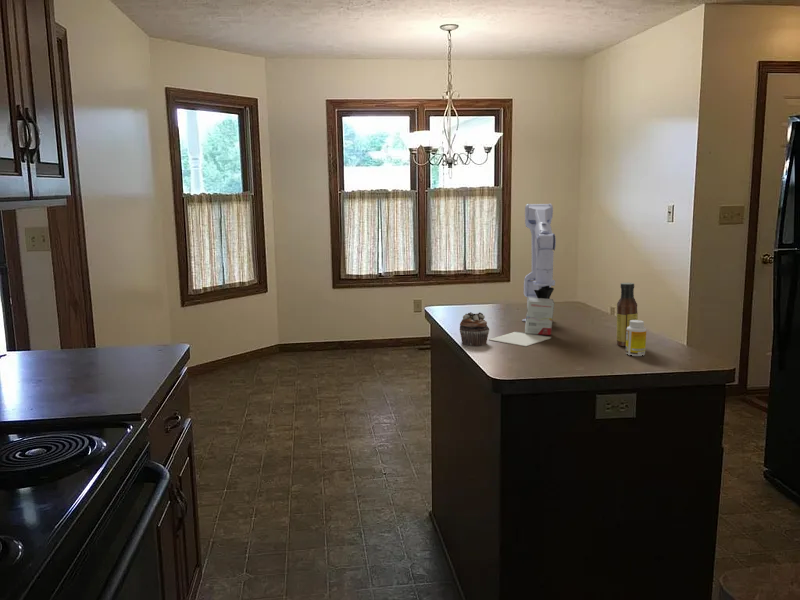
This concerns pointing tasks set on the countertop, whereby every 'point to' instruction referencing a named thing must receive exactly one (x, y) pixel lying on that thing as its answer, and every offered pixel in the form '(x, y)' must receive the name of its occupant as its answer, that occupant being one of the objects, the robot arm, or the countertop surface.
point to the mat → (520, 338)
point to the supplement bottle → (636, 338)
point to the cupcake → (474, 330)
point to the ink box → (539, 316)
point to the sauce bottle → (625, 311)
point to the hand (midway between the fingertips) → (543, 308)
